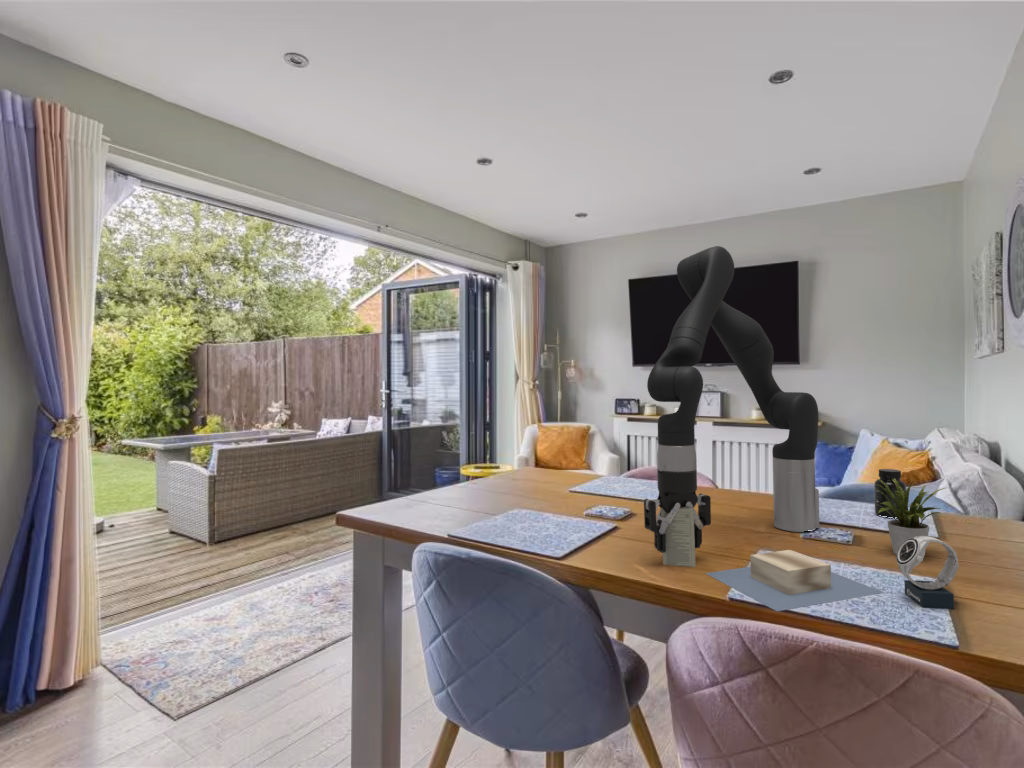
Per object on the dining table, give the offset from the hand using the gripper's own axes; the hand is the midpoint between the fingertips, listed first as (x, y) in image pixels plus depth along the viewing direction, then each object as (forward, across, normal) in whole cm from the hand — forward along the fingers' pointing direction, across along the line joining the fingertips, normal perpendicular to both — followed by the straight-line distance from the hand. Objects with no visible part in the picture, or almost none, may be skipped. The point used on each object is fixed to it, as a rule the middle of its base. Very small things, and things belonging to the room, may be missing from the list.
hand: (678, 549), depth 109 cm
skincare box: (+4, 0, 0) cm, 4 cm away
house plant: (+4, -47, +9) cm, 48 cm away
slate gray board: (+3, -12, +16) cm, 20 cm away
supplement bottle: (+4, -73, -14) cm, 74 cm away
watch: (+4, -26, +30) cm, 40 cm away
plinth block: (+3, -12, +16) cm, 20 cm away
